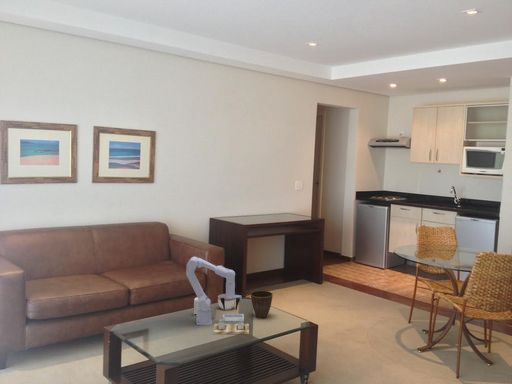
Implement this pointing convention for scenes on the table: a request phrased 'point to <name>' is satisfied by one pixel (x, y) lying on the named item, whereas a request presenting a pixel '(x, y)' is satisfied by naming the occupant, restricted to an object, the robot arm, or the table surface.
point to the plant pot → (261, 303)
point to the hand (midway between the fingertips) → (230, 309)
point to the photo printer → (196, 305)
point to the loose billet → (240, 324)
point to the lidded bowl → (226, 303)
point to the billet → (221, 324)
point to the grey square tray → (232, 318)
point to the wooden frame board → (231, 329)
